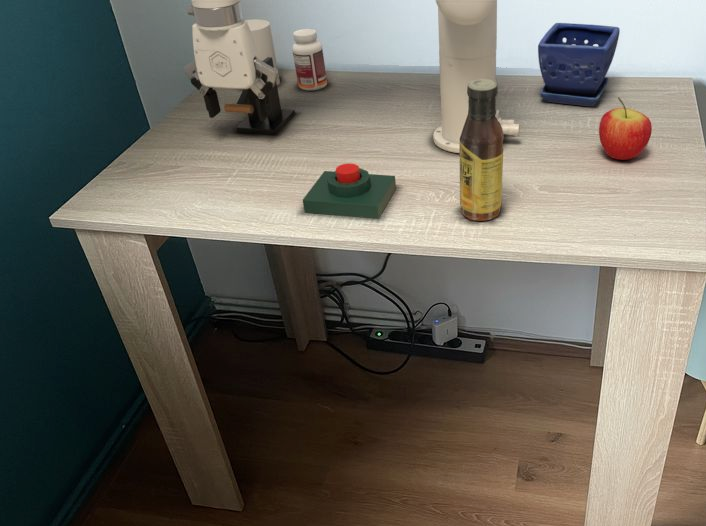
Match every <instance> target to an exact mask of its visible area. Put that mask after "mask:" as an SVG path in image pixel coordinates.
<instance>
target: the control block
mask: <svg viewBox="0 0 706 526" xmlns="http://www.w3.org/2000/svg"><path fill="white" fill-rule="evenodd" d="M359 171H360V180H358V181H356V182H353V183H340V182H338V181H337V176H336V170H334V171H333V170H332V171H330V170H323V172H322V173H321V175H320V176H319V177H318V179H317V180H316V181H315V183H314V184H313V185H312V186H311V188H310V189H309V191H307V193H306V195H305V196H303V199H302V205H303V211H304V213H306V214H307V213H308V214H318V215H331V216H341V217H343V216H344V217H354V218H367V219H380V217H381V215H382V213H383V212H384V210H385V208H386V206H387V204H388V203H389V201H390V200H391V198H392V196H393V195H394V193H395V191H396V189H397V184H396V176H395V175H389V174H375V173H369V172H368V170H365V169H363V168H361V167H359Z"/></svg>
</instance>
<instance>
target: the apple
mask: <svg viewBox="0 0 706 526" xmlns="http://www.w3.org/2000/svg"><path fill="white" fill-rule="evenodd" d="M617 99H618V101H619V102H620V103H621V105H622V106H623V107H616V108H612V109H610V110H608V111H606V112H605V113H604V114H603V115H602V117H601V118H600V121H599V126H598V136H599V137H598V138H599V142H600V144H601V147H602V148H603V150H604V152H605V153H606V155H608V156H609V157H610V158H612V159H614V160H619V161H626V160H631V159H634V158H636V157H637V156H638V155H640V154H641V153H642V152H643V151H644V149H645V148H646V147H647V146H648V144H649V142H650V139H651V136H652V130H653V129H652V126H653V125H652V122H651V120H650V118H649V117H648V116H646V115H645V113H642V112H640V111H638V110H635V109H632V108H627V107H626V106H625V103H624V102H623V100H622V99H621V98H620V96H618V97H617Z"/></svg>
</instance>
